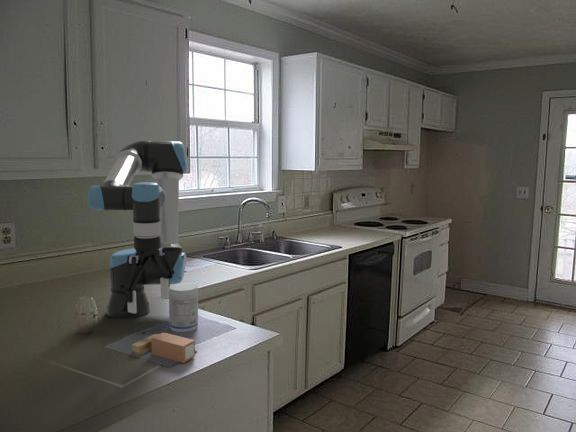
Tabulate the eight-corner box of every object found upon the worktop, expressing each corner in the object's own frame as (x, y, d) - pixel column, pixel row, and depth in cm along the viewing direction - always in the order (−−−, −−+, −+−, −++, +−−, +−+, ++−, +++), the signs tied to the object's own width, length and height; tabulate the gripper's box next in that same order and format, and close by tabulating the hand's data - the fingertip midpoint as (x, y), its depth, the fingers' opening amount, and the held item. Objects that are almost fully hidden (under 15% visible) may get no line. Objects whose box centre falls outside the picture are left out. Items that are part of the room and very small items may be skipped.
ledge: (155, 342, 151) (155, 333, 150) (162, 344, 149) (162, 335, 149) (131, 354, 142) (131, 344, 142) (139, 356, 141) (138, 346, 140)
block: (163, 332, 145) (195, 340, 140) (163, 348, 146) (195, 356, 140) (151, 337, 141) (183, 346, 135) (151, 354, 142) (184, 363, 136)
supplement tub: (171, 323, 168) (171, 282, 165) (199, 322, 168) (199, 282, 166) (167, 334, 158) (166, 290, 156) (196, 333, 159) (196, 290, 157)
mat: (133, 335, 157) (133, 334, 156) (196, 352, 144) (196, 350, 144) (103, 348, 146) (103, 347, 146) (169, 367, 134) (169, 366, 134)
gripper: (166, 227, 153) (168, 291, 157) (103, 242, 131) (107, 316, 135) (185, 230, 150) (186, 295, 153) (123, 245, 128) (126, 321, 131)
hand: (149, 305), depth 144 cm, fingers open, 13 cm apart
